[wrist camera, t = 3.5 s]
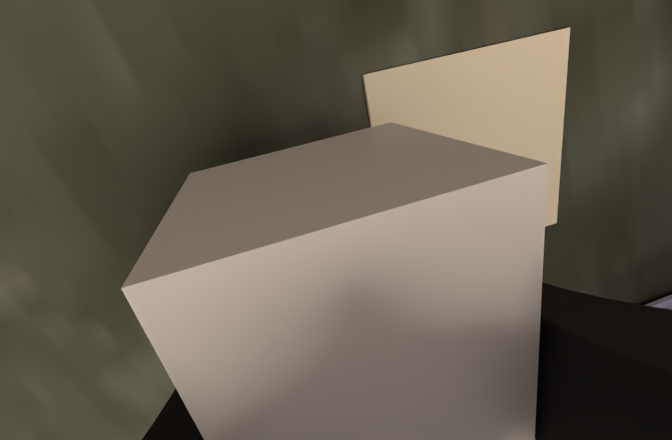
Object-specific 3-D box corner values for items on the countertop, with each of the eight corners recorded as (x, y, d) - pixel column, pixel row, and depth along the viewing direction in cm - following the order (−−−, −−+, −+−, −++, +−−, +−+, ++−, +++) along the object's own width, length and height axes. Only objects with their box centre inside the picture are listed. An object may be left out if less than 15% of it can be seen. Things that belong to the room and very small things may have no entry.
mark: (566, 28, 16) (570, 27, 16) (553, 221, 20) (556, 222, 20) (362, 75, 15) (363, 74, 14) (393, 273, 19) (394, 275, 18)
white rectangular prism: (189, 173, 10) (120, 288, 4) (391, 122, 11) (547, 163, 5) (280, 407, 14) (305, 625, 8) (422, 356, 14) (530, 521, 9)
